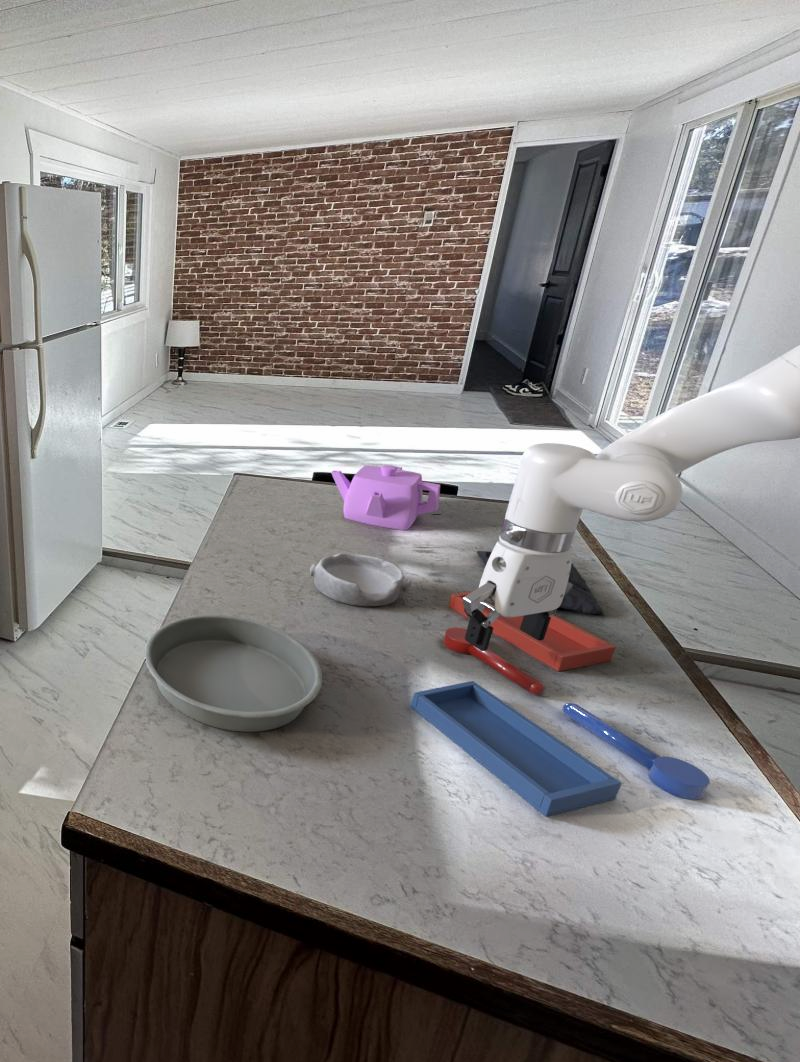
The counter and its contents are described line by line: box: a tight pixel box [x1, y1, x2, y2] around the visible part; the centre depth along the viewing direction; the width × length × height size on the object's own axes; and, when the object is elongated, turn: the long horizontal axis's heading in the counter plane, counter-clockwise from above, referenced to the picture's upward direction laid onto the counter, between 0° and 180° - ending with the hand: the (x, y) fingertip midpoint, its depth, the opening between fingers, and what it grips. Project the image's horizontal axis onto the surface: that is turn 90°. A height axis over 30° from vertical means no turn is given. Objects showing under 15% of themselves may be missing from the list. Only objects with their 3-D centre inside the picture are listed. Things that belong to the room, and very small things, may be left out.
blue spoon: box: [561, 702, 711, 801], centre depth 79 cm, size 15×5×2 cm, turn 12°
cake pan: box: [144, 614, 323, 733], centre depth 95 cm, size 25×25×4 cm
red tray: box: [448, 590, 616, 672], centre depth 103 cm, size 19×10×2 cm, turn 12°
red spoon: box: [442, 626, 546, 696], centre depth 96 cm, size 15×5×2 cm, turn 12°
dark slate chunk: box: [476, 550, 605, 615], centre depth 116 cm, size 15×22×5 cm
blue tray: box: [410, 680, 622, 817], centre depth 80 cm, size 19×10×2 cm, turn 12°
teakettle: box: [330, 464, 441, 531], centre depth 145 cm, size 17×17×12 cm
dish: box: [309, 552, 412, 607], centre depth 117 cm, size 14×14×5 cm
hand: (503, 640), depth 93 cm, fingers open, 9 cm apart
